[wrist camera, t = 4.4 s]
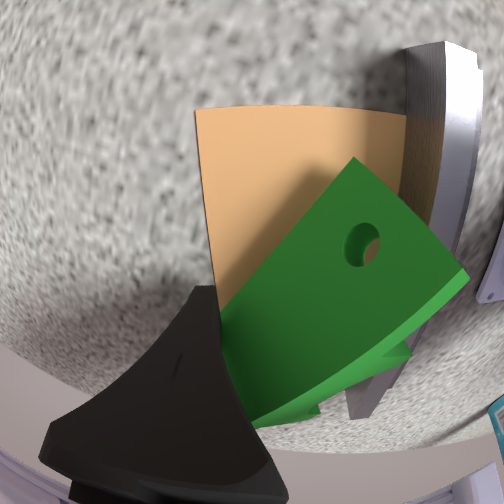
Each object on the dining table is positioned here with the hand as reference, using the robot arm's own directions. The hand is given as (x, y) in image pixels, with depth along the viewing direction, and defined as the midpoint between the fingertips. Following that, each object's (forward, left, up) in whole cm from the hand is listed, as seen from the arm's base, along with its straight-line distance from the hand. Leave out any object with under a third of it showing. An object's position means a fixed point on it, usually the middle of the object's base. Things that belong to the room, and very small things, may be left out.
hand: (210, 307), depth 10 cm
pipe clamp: (-2, 0, -1) cm, 3 cm away
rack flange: (-5, 0, -2) cm, 5 cm away
